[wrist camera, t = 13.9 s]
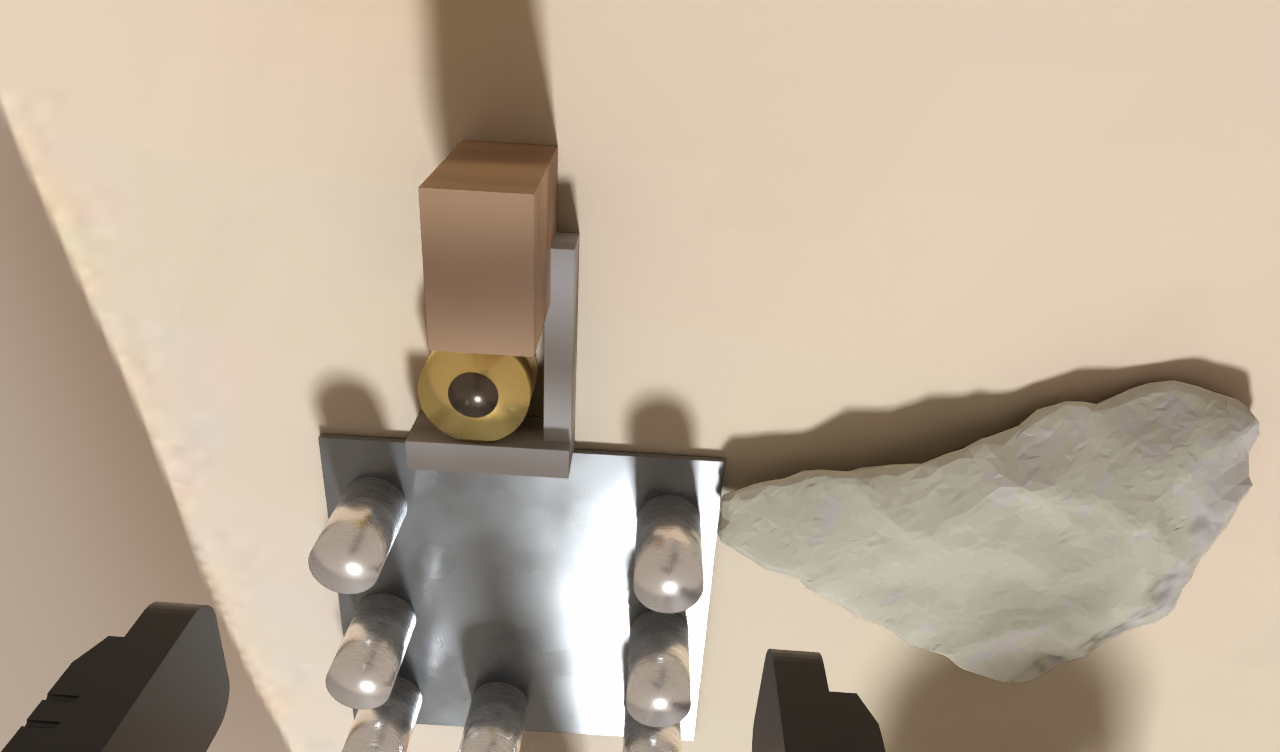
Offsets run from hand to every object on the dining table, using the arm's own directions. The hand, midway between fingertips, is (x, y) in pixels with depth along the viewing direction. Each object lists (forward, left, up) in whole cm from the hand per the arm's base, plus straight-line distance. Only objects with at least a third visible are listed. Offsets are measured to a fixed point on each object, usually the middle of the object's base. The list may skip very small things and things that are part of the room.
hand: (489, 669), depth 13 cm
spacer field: (+17, -3, -21) cm, 27 cm away
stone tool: (+11, +15, -21) cm, 29 cm away
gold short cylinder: (+6, -4, -21) cm, 22 cm away
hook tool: (+3, -4, -21) cm, 21 cm away
